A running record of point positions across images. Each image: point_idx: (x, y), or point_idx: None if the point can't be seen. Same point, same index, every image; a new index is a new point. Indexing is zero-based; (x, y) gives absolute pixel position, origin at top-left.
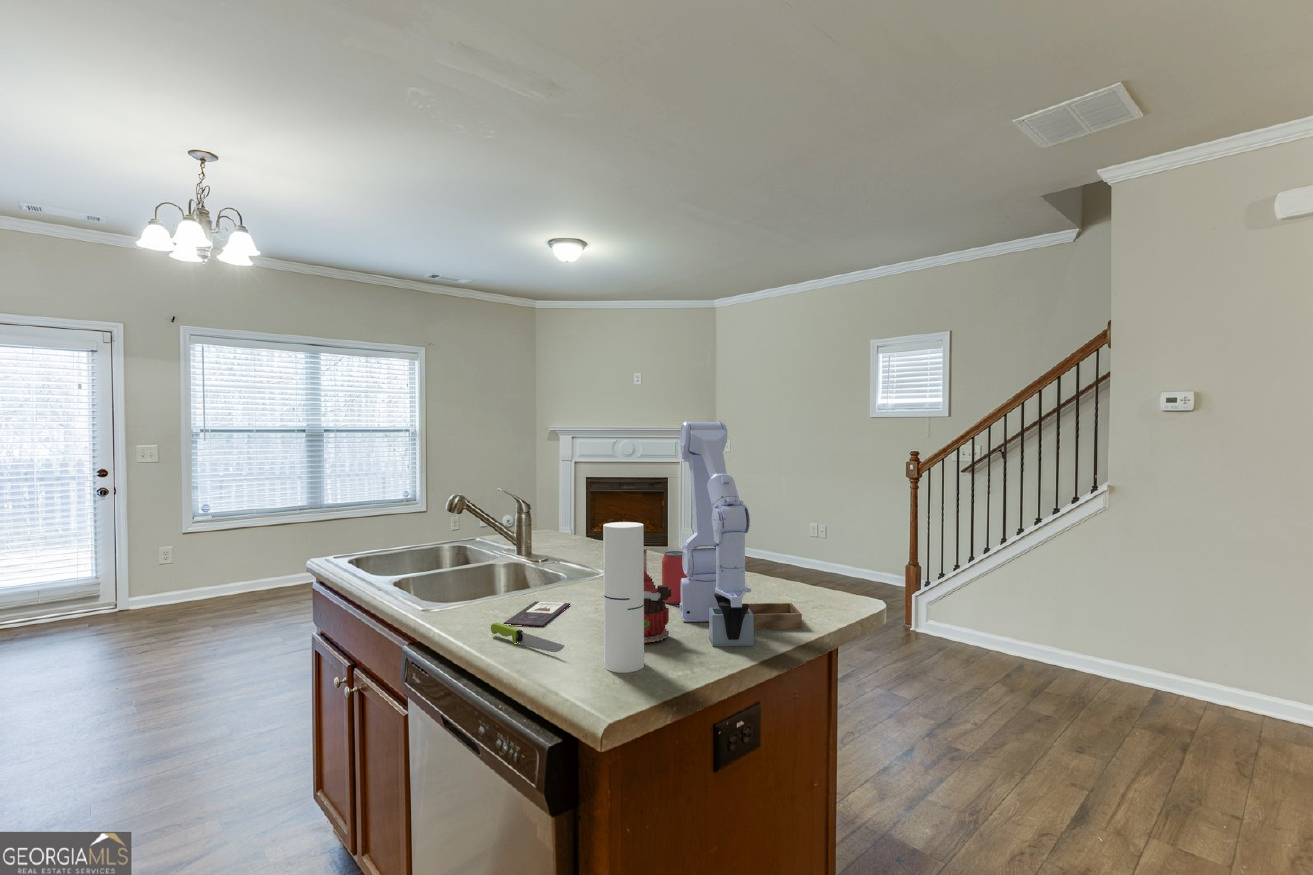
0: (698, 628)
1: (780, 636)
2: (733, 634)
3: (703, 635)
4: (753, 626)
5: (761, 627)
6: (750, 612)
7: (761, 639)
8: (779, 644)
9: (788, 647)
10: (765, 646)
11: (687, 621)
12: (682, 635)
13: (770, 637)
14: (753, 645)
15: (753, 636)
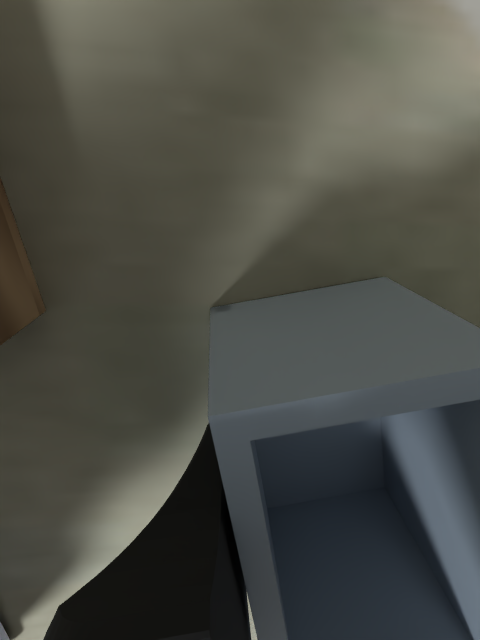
0: (97, 570)
1: (159, 62)
2: None
3: None
4: (453, 314)
5: (5, 214)
6: (442, 390)
7: (252, 221)
8: (354, 88)
9: (422, 17)
10: (397, 198)
11: (5, 633)
12: None
13: (197, 150)
14: (384, 277)
15: (411, 291)
